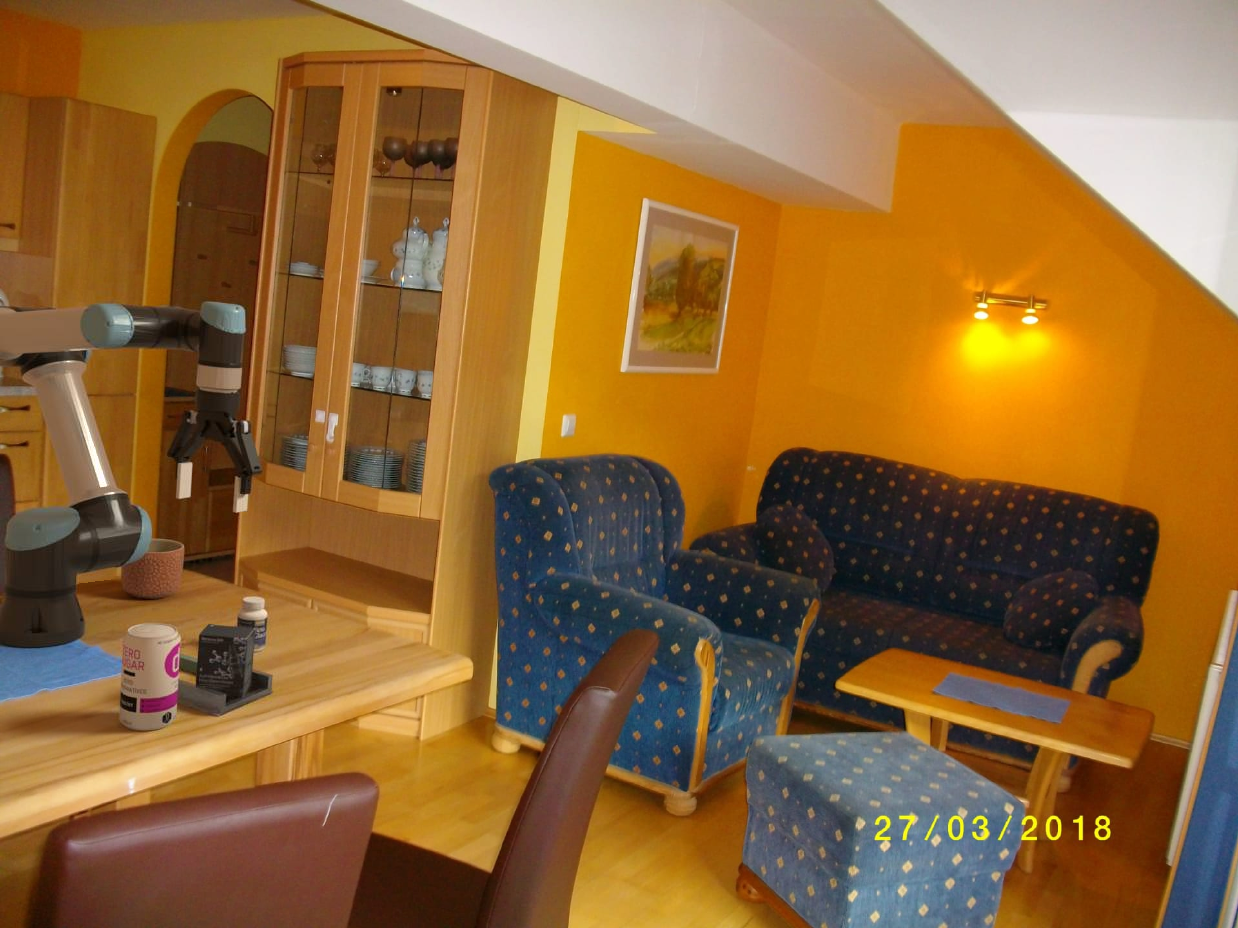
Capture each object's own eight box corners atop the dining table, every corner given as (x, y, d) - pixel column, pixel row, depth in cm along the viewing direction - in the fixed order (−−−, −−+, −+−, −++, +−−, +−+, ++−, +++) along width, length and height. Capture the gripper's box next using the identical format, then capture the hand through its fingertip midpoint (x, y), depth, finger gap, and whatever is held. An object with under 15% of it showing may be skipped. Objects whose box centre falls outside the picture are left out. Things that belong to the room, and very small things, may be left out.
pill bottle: (255, 654, 197) (258, 605, 196) (229, 649, 198) (232, 600, 197) (270, 646, 202) (273, 598, 201) (245, 641, 203) (248, 593, 202)
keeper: (171, 701, 172) (172, 681, 171) (228, 679, 184) (229, 660, 183) (218, 716, 168) (219, 696, 168) (273, 692, 180) (274, 673, 180)
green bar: (154, 660, 189) (154, 649, 188) (160, 658, 190) (161, 647, 190) (214, 678, 184) (214, 667, 183) (220, 676, 185) (221, 665, 185)
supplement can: (184, 713, 168) (189, 624, 166) (163, 734, 160) (168, 641, 158) (133, 708, 168) (137, 619, 165) (109, 729, 159) (114, 635, 157)
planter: (186, 601, 223) (189, 551, 222) (122, 604, 217) (125, 553, 215) (176, 585, 234) (179, 537, 232) (115, 587, 227) (118, 538, 225)
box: (194, 694, 173) (198, 633, 171) (204, 682, 178) (208, 622, 177) (243, 698, 174) (247, 637, 172) (252, 685, 179) (255, 626, 178)
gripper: (287, 398, 186) (279, 514, 190) (182, 379, 196) (176, 489, 199) (257, 400, 180) (249, 520, 183) (150, 380, 189) (144, 494, 192)
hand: (211, 504), depth 191 cm, fingers open, 13 cm apart
